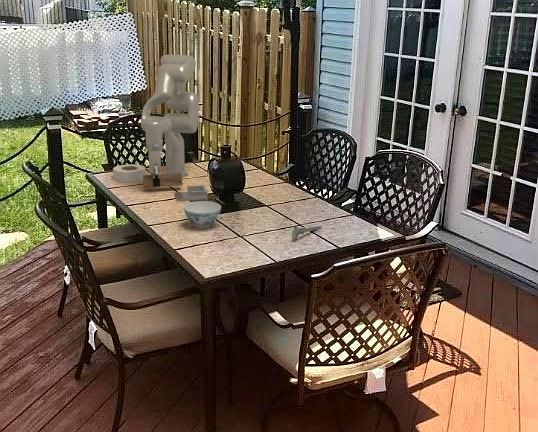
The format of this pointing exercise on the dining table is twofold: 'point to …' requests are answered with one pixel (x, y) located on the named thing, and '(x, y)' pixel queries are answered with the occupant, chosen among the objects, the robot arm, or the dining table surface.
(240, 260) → the dining table surface
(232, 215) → the dining table surface
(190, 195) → the cup bracket
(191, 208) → the chinaware
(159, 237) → the dining table surface
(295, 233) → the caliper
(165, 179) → the walnut rail
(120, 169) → the roll of tape
